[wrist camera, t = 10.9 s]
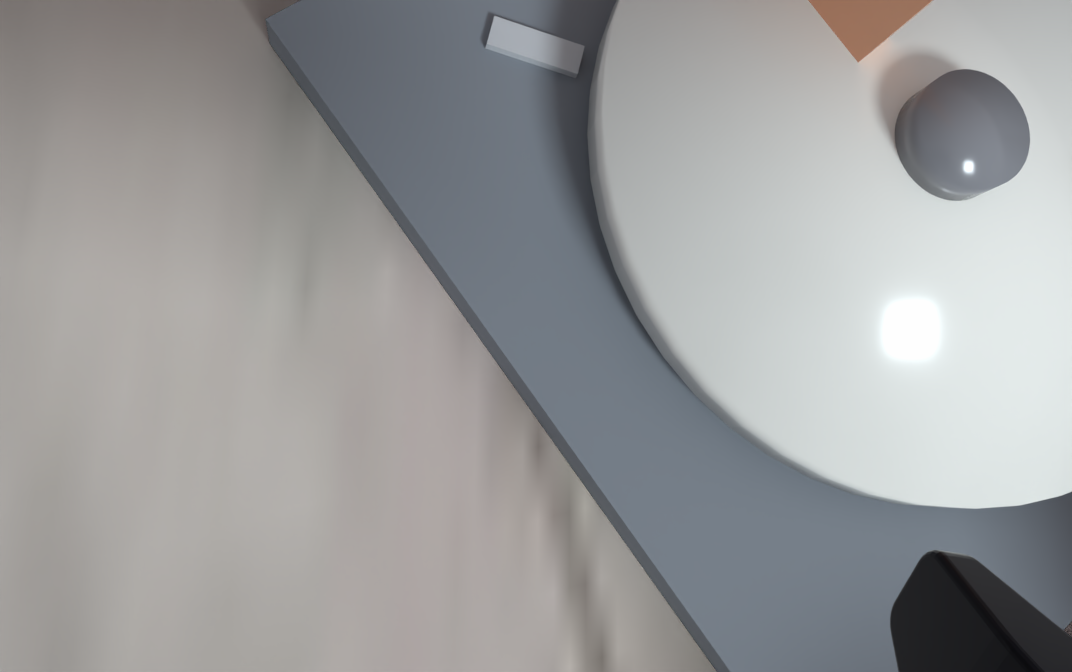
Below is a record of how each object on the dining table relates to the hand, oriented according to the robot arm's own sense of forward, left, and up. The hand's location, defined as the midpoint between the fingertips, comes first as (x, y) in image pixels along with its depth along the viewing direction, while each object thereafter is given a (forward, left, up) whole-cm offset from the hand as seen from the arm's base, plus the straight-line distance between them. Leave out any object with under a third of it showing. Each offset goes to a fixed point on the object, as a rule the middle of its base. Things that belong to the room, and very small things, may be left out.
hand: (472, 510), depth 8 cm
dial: (+16, -1, -12) cm, 20 cm away
